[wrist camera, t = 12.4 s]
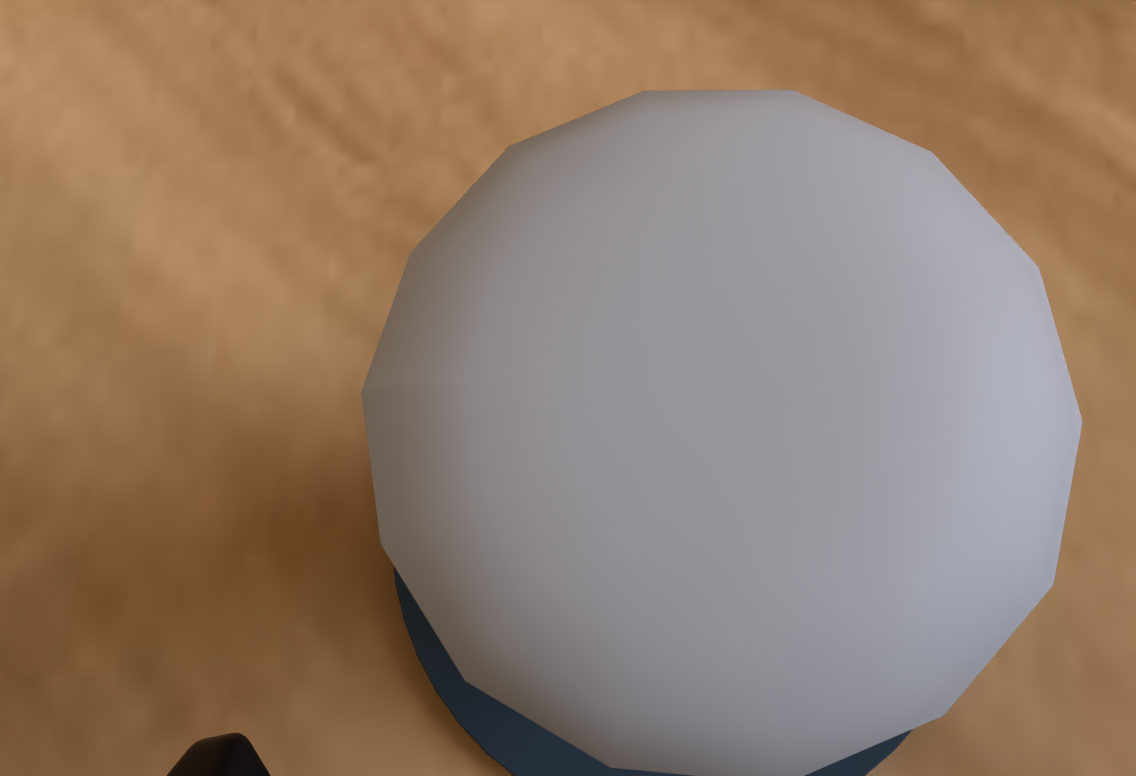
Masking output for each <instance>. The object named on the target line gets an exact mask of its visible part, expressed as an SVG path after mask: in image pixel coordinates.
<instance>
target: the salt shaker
mask: <svg viewBox="0 0 1136 776" xmlns="http://www.w3.org/2000/svg"><path fill="white" fill-rule="evenodd" d="M361 393H362V401H363V409H364V417H365V425H366V433H367V441H368V449H369V457H370V464H371V472H372V480H373V488H374V496H375V504H376V512H377V520H378V528H379V536H380V543H381V545H382V547H383V549H384V550H385V552H386V553H387V555H388V557H389V558H390V560H391V562H392V563H393V565H394V566H395V568H396V570H397V571H398V573H399V574H400V576H401V578H402V579H403V581H404V583H405V584H406V586H407V587H408V589H409V591H410V592H411V594H412V596H413V597H414V599H415V600H416V602H417V604H418V605H419V607H420V609H421V610H422V612H423V613H424V615H425V617H426V618H427V620H428V621H429V623H430V625H431V626H432V628H433V630H434V631H435V633H436V634H437V636H438V638H439V639H440V641H441V643H442V644H443V646H444V647H445V649H446V651H447V652H448V654H449V656H450V657H451V659H452V660H453V662H454V664H455V665H456V667H457V668H458V670H459V672H460V673H461V675H462V677H463V678H464V680H465V681H466V682H468V683H469V684H471V685H473V686H474V687H476V688H478V689H480V690H481V691H483V692H485V693H486V694H488V695H490V696H491V697H493V698H495V699H496V700H498V701H500V702H501V703H503V704H505V705H506V706H508V707H510V708H511V709H513V710H515V711H516V712H518V713H520V714H521V715H523V716H525V717H527V718H528V719H530V720H532V721H533V722H535V723H537V724H538V725H540V726H542V727H543V728H545V729H547V730H548V731H550V732H552V733H553V734H555V735H557V736H558V737H560V738H562V739H563V740H565V741H567V742H568V743H570V744H572V745H574V746H575V747H577V748H579V749H580V750H582V751H584V752H585V753H587V754H589V755H590V756H592V757H594V758H595V759H597V760H599V761H600V762H602V763H604V764H605V765H607V766H609V767H610V768H621V769H631V770H641V771H652V772H662V773H672V774H682V775H693V776H805V775H807V774H809V773H812V772H814V771H816V770H819V769H821V768H823V767H825V766H828V765H830V764H832V763H835V762H837V761H839V760H842V759H844V758H846V757H849V756H851V755H853V754H856V753H858V752H860V751H863V750H865V749H867V748H870V747H872V746H874V745H876V744H879V743H881V742H883V741H886V740H888V739H890V738H893V737H895V736H897V735H900V734H902V733H904V732H907V731H909V730H911V729H914V728H916V727H918V726H921V725H923V724H925V723H928V722H930V721H932V720H934V719H937V718H939V717H941V716H944V715H945V714H946V712H947V711H948V710H949V709H950V708H951V706H952V705H953V704H954V703H955V702H956V700H957V699H958V698H959V697H960V696H961V694H962V693H963V692H964V691H965V690H966V688H967V687H968V686H969V685H970V684H971V683H972V681H973V680H974V679H975V678H976V677H977V675H978V674H979V673H980V672H981V671H982V669H983V668H984V667H985V666H986V665H987V663H988V662H989V661H990V660H991V659H992V657H993V656H994V655H995V654H996V653H997V651H998V650H999V649H1000V648H1001V647H1002V645H1003V644H1004V643H1005V642H1006V641H1007V640H1008V638H1009V637H1010V636H1011V635H1012V634H1013V632H1014V631H1015V630H1016V629H1017V628H1018V626H1019V625H1020V624H1021V623H1022V622H1023V620H1024V619H1025V618H1026V617H1027V616H1028V614H1029V613H1030V612H1031V611H1032V610H1033V608H1034V607H1035V606H1036V605H1037V604H1038V603H1039V601H1040V600H1041V599H1042V598H1043V597H1044V595H1045V594H1046V593H1047V592H1048V591H1049V589H1050V588H1051V587H1052V586H1053V584H1054V578H1055V573H1056V567H1057V562H1058V556H1059V550H1060V545H1061V539H1062V534H1063V528H1064V522H1065V517H1066V511H1067V506H1068V500H1069V494H1070V489H1071V483H1072V478H1073V472H1074V466H1075V461H1076V455H1077V450H1078V444H1079V438H1080V433H1081V427H1082V418H1081V415H1080V411H1079V408H1078V404H1077V401H1076V397H1075V394H1074V390H1073V386H1072V383H1071V379H1070V376H1069V372H1068V369H1067V365H1066V362H1065V358H1064V355H1063V351H1062V348H1061V344H1060V341H1059V337H1058V334H1057V330H1056V326H1055V323H1054V319H1053V316H1052V312H1051V309H1050V305H1049V302H1048V298H1047V295H1046V291H1045V288H1044V284H1043V281H1042V277H1041V273H1040V270H1039V267H1038V266H1037V265H1036V264H1035V263H1034V262H1033V260H1032V259H1031V258H1030V257H1029V256H1028V255H1027V254H1026V253H1025V252H1024V251H1023V250H1022V249H1021V248H1020V246H1019V245H1018V244H1017V243H1016V242H1015V241H1014V240H1013V239H1012V238H1011V237H1010V236H1009V235H1008V234H1007V233H1006V231H1005V230H1004V229H1003V228H1002V227H1001V226H1000V225H999V224H998V223H997V222H996V221H995V220H994V219H993V217H992V216H991V215H990V214H989V213H988V212H987V211H986V210H985V209H984V208H983V207H982V206H981V205H980V203H979V202H978V201H977V200H976V199H975V198H974V197H973V196H972V195H971V194H970V193H969V192H968V191H967V189H966V188H965V187H964V186H963V185H962V184H961V183H960V182H959V181H958V180H957V179H956V178H955V177H954V176H953V174H952V173H951V172H950V171H949V170H948V169H947V168H946V167H945V166H944V165H943V164H942V163H941V162H940V160H939V159H938V158H937V157H936V156H935V155H934V154H933V153H932V152H930V151H928V150H926V149H924V148H921V147H919V146H917V145H915V144H912V143H910V142H908V141H906V140H903V139H901V138H899V137H897V136H895V135H892V134H890V133H888V132H886V131H883V130H881V129H879V128H877V127H875V126H872V125H870V124H868V123H866V122H863V121H861V120H859V119H857V118H854V117H852V116H850V115H848V114H846V113H843V112H841V111H839V110H837V109H834V108H832V107H830V106H828V105H825V104H823V103H821V102H819V101H817V100H814V99H812V98H810V97H808V96H805V95H803V94H801V93H799V92H796V91H794V90H692V91H642V92H640V93H637V94H635V95H632V96H630V97H628V98H625V99H623V100H620V101H618V102H615V103H613V104H611V105H608V106H606V107H603V108H601V109H598V110H596V111H594V112H591V113H589V114H586V115H584V116H581V117H579V118H577V119H574V120H572V121H569V122H567V123H564V124H562V125H560V126H557V127H555V128H552V129H550V130H547V131H545V132H542V133H540V134H538V135H535V136H533V137H530V138H528V139H525V140H523V141H521V142H518V143H516V144H513V145H511V146H509V147H508V148H507V149H506V150H505V151H504V152H503V153H502V154H501V155H500V156H499V158H498V159H497V160H496V161H495V162H494V163H493V164H492V165H491V166H490V167H489V168H488V169H487V171H486V172H485V173H484V174H483V175H482V176H481V177H480V178H479V179H478V180H477V181H476V182H475V184H474V185H473V186H472V187H471V188H470V189H469V190H468V191H467V192H466V193H465V194H464V195H463V197H462V198H461V199H460V200H459V201H458V202H457V203H456V204H455V205H454V206H453V207H452V208H451V210H450V211H449V212H448V213H447V214H446V215H445V216H444V217H443V218H442V219H441V220H440V221H439V223H438V224H437V225H436V226H435V227H434V228H433V229H432V230H431V231H430V232H429V233H428V235H427V236H426V237H425V238H424V239H423V240H422V241H421V242H420V243H419V244H418V245H417V246H416V248H415V249H414V250H413V251H412V252H411V253H410V256H409V259H408V261H407V264H406V267H405V270H404V273H403V276H402V278H401V281H400V284H399V287H398V290H397V293H396V295H395V298H394V301H393V304H392V307H391V310H390V312H389V315H388V318H387V321H386V324H385V327H384V329H383V332H382V335H381V338H380V341H379V343H378V346H377V349H376V352H375V355H374V358H373V360H372V363H371V366H370V369H369V372H368V375H367V377H366V380H365V383H364V386H363V389H362V392H361Z"/></svg>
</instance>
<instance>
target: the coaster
mask: <svg viewBox="0 0 1136 776" xmlns="http://www.w3.org/2000/svg"><path fill="white" fill-rule="evenodd" d="M394 574H395V583H396V588H397V592H398V596H399V601H400V605H401V609H402V613H403V617H404V622H405V624H406V627H407V630H408V632H409V635H410V637H411V640H412V643H413V645H414V648H415V651H416V653H417V656H418V658H419V660H420V662H421V664H422V666H423V668H424V669H425V671H426V673H427V675H428V677H429V679H430V681H431V683H432V684H433V686H434V688H435V690H436V692H437V693H438V695H439V696H440V698H441V699H442V700H443V702H444V703H445V705H446V706H447V707H448V709H449V710H450V711H451V713H452V714H453V716H454V717H455V718H456V720H457V721H458V723H459V724H460V725H461V726H462V727H463V728H464V729H465V730H466V732H467V733H468V734H469V735H470V736H471V737H472V738H473V739H474V740H475V741H476V742H477V743H478V744H479V745H480V746H481V748H482V749H483V750H484V751H485V752H486V753H487V754H488V755H490V756H491V757H492V758H493V759H494V760H496V761H497V762H498V763H499V764H501V765H502V766H503V767H504V768H505V769H507V770H508V771H509V772H510V773H512V774H513V775H514V776H693V775H682V774H672V773H662V772H652V771H641V770H631V769H621V768H610V767H609V766H607V765H605V764H604V763H602V762H600V761H599V760H597V759H595V758H594V757H592V756H590V755H589V754H587V753H585V752H584V751H582V750H580V749H579V748H577V747H575V746H574V745H572V744H570V743H568V742H567V741H565V740H563V739H562V738H560V737H558V736H557V735H555V734H553V733H552V732H550V731H548V730H547V729H545V728H543V727H542V726H540V725H538V724H537V723H535V722H533V721H532V720H530V719H528V718H527V717H525V716H523V715H521V714H520V713H518V712H516V711H515V710H513V709H511V708H510V707H508V706H506V705H505V704H503V703H501V702H500V701H498V700H496V699H495V698H493V697H491V696H490V695H488V694H486V693H485V692H483V691H481V690H480V689H478V688H476V687H474V686H473V685H471V684H469V683H468V682H466V681H465V680H464V678H463V677H462V675H461V673H460V672H459V670H458V668H457V667H456V665H455V664H454V662H453V660H452V659H451V657H450V656H449V654H448V652H447V651H446V649H445V647H444V646H443V644H442V643H441V641H440V639H439V638H438V636H437V634H436V633H435V631H434V630H433V628H432V626H431V625H430V623H429V621H428V620H427V618H426V617H425V615H424V613H423V612H422V610H421V609H420V607H419V605H418V604H417V602H416V600H415V599H414V597H413V596H412V594H411V592H410V591H409V589H408V587H407V586H406V584H405V583H404V581H403V579H402V578H401V576H400V574H399V573H398V571H397V570H396V568H395V566H394ZM911 731H912V729H911V730H909V731H907V732H904V733H902V734H900V735H897V736H895V737H893V738H890V739H888V740H886V741H883V742H881V743H879V744H876V745H874V746H872V747H870V748H867V749H865V750H863V751H860V752H858V753H856V754H853V755H851V756H849V757H846V758H844V759H842V760H839V761H837V762H835V763H832V764H830V765H828V766H825V767H823V768H821V769H819V770H816V771H814V772H812V773H809V774H807V775H805V776H865V775H866V774H867V773H869V772H870V771H871V770H872V769H873V768H874V767H876V766H877V765H878V764H879V763H880V762H881V761H883V760H884V759H885V758H886V757H887V756H888V755H890V754H891V753H892V752H893V751H894V750H895V749H896V748H897V747H898V745H899V744H900V743H901V742H902V741H903V740H904V739H905V737H906V736H907V735H908V734H909V733H910V732H911Z"/></svg>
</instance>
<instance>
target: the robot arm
mask: <svg viewBox="0 0 1136 776" xmlns="http://www.w3.org/2000/svg"><path fill="white" fill-rule="evenodd" d="M167 776H270V774H269V772H268V771H267V769H266V768H265V766H264V764H263V763H262V761H261V759H260V758H259V756H258V754H257V753H256V751H255V749H254V748H253V746H252V744H251V743H250V741H249V740H248V739H247V737H245V736H244V735H242V734H240V733H230V734H225V735H220V736H215V737H210V738H205V739H202V740H199V741H197V742H196V743H195V744H193V745H192V746H191V747H190V748H189V749H188V750H187V751H186V753H185V754H184V755H183V756H182V757H181V759H180V760H179V761H178V762H177V764H176V765H175V766H174V767H173V768H172V770H171V771H170V772H169V773H168V775H167Z"/></svg>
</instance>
